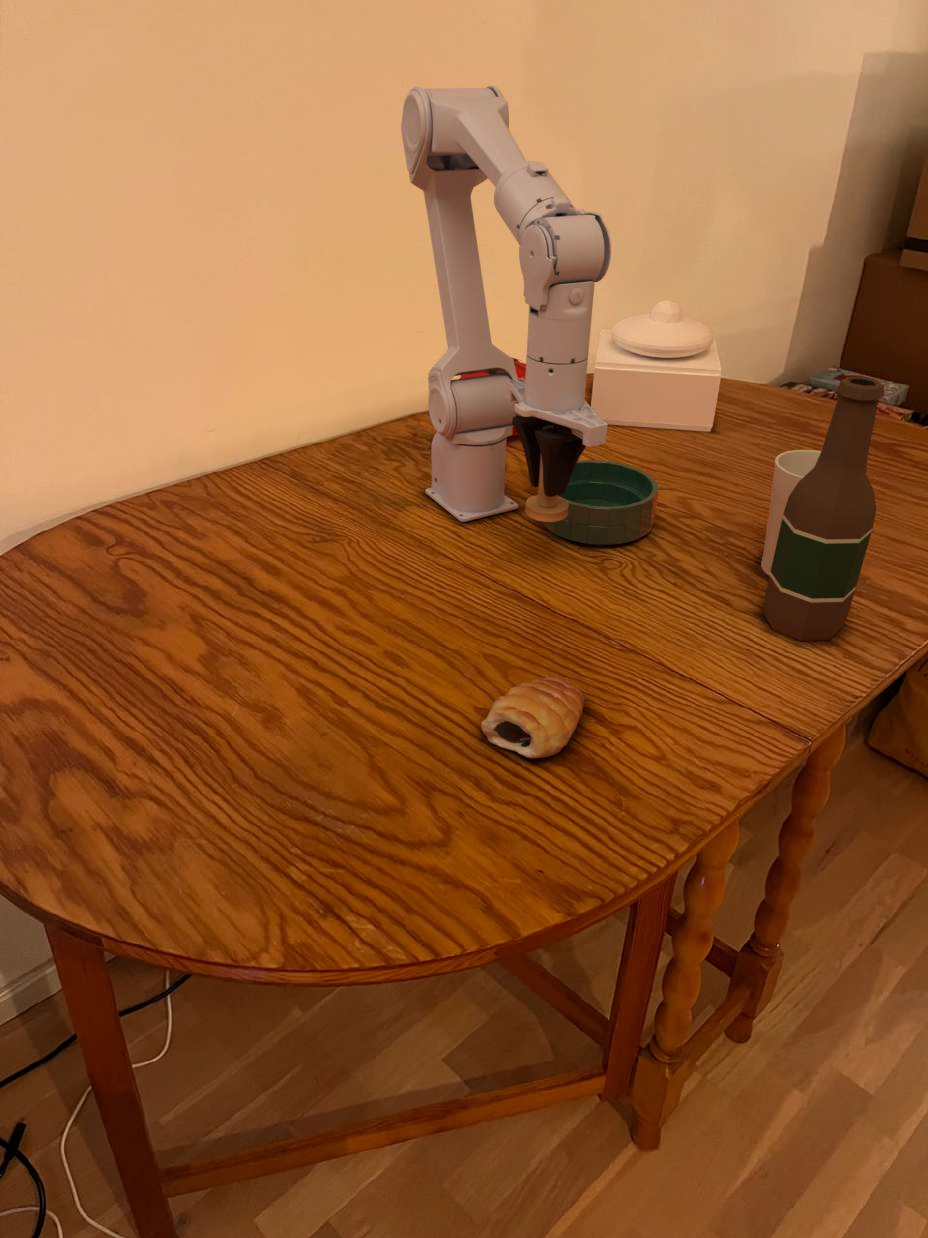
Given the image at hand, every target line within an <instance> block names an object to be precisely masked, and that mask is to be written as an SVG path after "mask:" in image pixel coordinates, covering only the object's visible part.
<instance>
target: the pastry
mask: <svg viewBox="0 0 928 1238" xmlns="http://www.w3.org/2000/svg"><path fill="white" fill-rule="evenodd" d="M584 703H585V696H584V693H583V691H582V689H581V688H580V686H577V685H576V684H574V683H573V682H570V681H568V680H567V678H565V677H564V676H552V675H551V676H546V677H542V678H537V677H536V678H533V679H532V680H531V681H523V682H521V683H520V684H519V685H517V686H512V687H510V688H509V690H508V692H507V693H506V694H505V695H501V696H498V697H497V698H495V700H493V702H492V705H491V707H490V710H489V713H488V715H487V716H486V718H485V719H484V720H482V721H481V723H480V729H481V731H482V733H483V735H485V736H486V739H487V741H488V742H489V743H490V744H493V745H495V746H497V747H500V748H501V749H504V750H507V751H512V752H516V753H517V754H519V755H521V756H523V757H525V758H528V759H540V758H541V759H544V758H549V757H552V756H554V755H556V754H559V753H560V752H561V751H562V750H563V749H564V747H566V746H567V745H568V743H569V741H570V739H571V738H572V735H574V732H575V731H576V729H577V726H578V723H579V721H580V719H581V716H582V714H583V710H584Z"/></svg>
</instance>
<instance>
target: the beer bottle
mask: <svg viewBox="0 0 928 1238" xmlns="http://www.w3.org/2000/svg"><path fill="white" fill-rule="evenodd" d="M884 386H885V385H884V384H882V382H880V381H878V379H874V378H871V377H866V376H863V375H862V376H860V375H859V376H847V377H845V378H843V379H841V380H840V382H839V384H838V386H837V388H836V389H835V391H836V393H837V394H838V397H837V400H836V403H835V407H834V410H833V413H832V415H831V419H830V422H829V426H828V429H827V433H826V436H825V439H824V442H823V445H822V449H821V450H820V451H821V454H820V456H819V458H818V460H817V462H816V465H815V467H814V468H813V469H812V470H811V471H810V472H809V473H808V474H806V475H805V476H804V477H803V478H802V479H801V480H800V481H799V482H798V483H797V485H796V486H795V488H794V489H793V491H792V492H791V494H790V495H789V497H788V501H787V504H786V507H785V510H784V513H783V517H782V522H781V526H780V531H779V535H778V540H777V544H776V549H775V553H774V558H773V562H772V567H771V571H770V576H769V575H768V580H767V585H766V589H765V590H766V591H765V594H764V600H763V607H762V613H763V616H764V618H765V619H766V621H767V623H768V624H769V626H770V627H771V629H772V631H774V632H777V633H778V634H782V635H784V636H787V637H789V638H792V639H794V640H797V641H800V642H819V641H820V642H823V641H825V642H826V641H830V640H831V639H832V638H833V637H834V636H835V635H836V634H837V633H839V631H840V630H841V629H842V628H844V626H845V623H846V621H847V618H848V615H849V613H850V609H851V606H852V602H853V599H854V596H855V592H856V588H857V585H858V583H859V579H860V578H859V577H860V574H861V572H862V568H863V564H864V560H865V557H866V553H867V551H868V550H867V549H868V546H869V543H870V539H871V536H872V532H873V528H874V525H875V519H876V513H877V503H876V495H875V491H874V487H873V486H872V484H871V481H870V480H869V477H868V475H867V473H868V472H867V471H868V456H869V452H870V446H871V442H872V436H873V432H874V427H875V421H876V417H877V411H878V406H879V401H880V399H882V398H884V397H885V387H884Z"/></svg>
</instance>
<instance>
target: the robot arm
mask: <svg viewBox="0 0 928 1238" xmlns="http://www.w3.org/2000/svg"><path fill="white" fill-rule="evenodd" d="M400 131H401V137H402V144H403V151H404V157H405V164H406V169H407V171H408V177H409V182H410V183H411V185H413V186H415V187H417V188H418V189H420V190H421V191H422V192H423V197H424V203H425V208H426V215H427V221H428V227H429V228H428V229H429V233H430V241H431V247H432V254H433V260H434V261H433V262H434V267H435V274H436V278H437V279H436V280H437V287H438V292H439V293H438V294H439V300H440V305H441V306H440V307H441V313H442V319H443V320H442V321H443V326H444V332H445V339H446V344H447V345H446V346H447V350H446V351H445V353H443V354H442V355H441V357H439V359H438V360H437V361H436V362H435V363H434V364H433V365H432V367H431V368H430V370H429V372H427V373H428V374H427V383H428V397H427V398H428V399H427V406H428V407H427V408H428V414H429V418H430V421H431V424H432V426H433V428H434V430H435V431H436V432H435V434H434V435H433V438H432V441H431V487H428V488H426V489H425V491H424V493H425V495H427V496H428V497H430V498H431V499H432V500H433V501H434V502H436V503H437V504H438V505H440V506H441V507H442V508H443V509H444V510H445V511H447V512H448V513H450V514H451V515H452V516H453V517H454V518H456V519H457V520H458V521H459V522H460V523H465V522H470V521H473V520H478V519H482V518H486V517H489V516H495V515H498V514H503V513H506V512H509V511H510V512H511V511H514V510H517V509H519V504H518V503H517V502H516V501H514V500H513V499H512V498H510V497H509V496H508V495H506V494H505V489H506V488H505V487H506V486H505V485H506V464H507V463H506V462H507V461H506V460H507V459H506V458H507V438H508V437H507V436H510V437H512V436H511V435H512V427H514V428H515V430H516V432H517V434H518V435H517V436H518V438H519V439H520V440H519V441H520V443H521V446H522V450H523V453H524V457H525V461H526V466H527V471H528V476H529V477H528V478H529V481H530V485H531V486H532V487H533V488H538V486H539V471H540V455H541V456H542V463H543V487H544V492H545V495H546V496H548V497H552V496H556V495H561V494H565V491H566V489H567V486H568V483H569V480H570V478H571V475H572V472H573V470H574V467H575V465H576V463H577V461H579V459H580V457H581V455H582V454H583V452H584V451H585V449H586V448H592V447H597V446H601V445H605V444H607V436H608V435H607V434H608V426H609V424H607V423H605V422H603V421H602V420H601V419H599V417H598V416H597V415H596V414H595V412H594V411H593V410H592V409H591V405H590V404H589V403H588V402H587V401H586V400H585V396H586V386H587V374H588V363H589V352H590V340H591V328H592V317H593V306H594V296H595V295H594V294H595V283H598V282H600V281H601V280H603V279H604V278H605V276H606V274H607V273H608V270H609V267H610V264H611V258H612V240H611V235H610V231H609V227H608V226H607V224H606V222H605V221H604V218H603V216H602V214H600V213H599V212H597V211H585V210H584V208H582V209H577V208H576V206H575V205H574V204H573V202H572V200H570V198H569V197H568V196H567V194H566V193H565V192H564V190H563V189H562V188H561V186H560V185H559V184H558V182H557V181H556V179H555V178H554V176H553V175H552V174H551V173H550V171H549V170H550V169H549V168H548V166H547V165H546V163H545V162H543V161H539V162H538V161H533V160H527V159H526V158H525V156H524V154H523V153H522V151H521V149H520V146H519V145H518V143H517V141H516V140H515V138H514V136H513V135H512V133H511V131H510V110H509V102H508V100H507V99H506V98H505V96H504V95H503V93H502V91H501V89H500V88H499V87H497V86H495V85H489V86H486V87H458V88H457V87H454V88H453V87H451V88H450V87H449V88H446V87H445V88H423V87H421V86H414V87H412V88H411V89H410V90H409V91H408V93H407V95H406V97H405V99H404V101H403V106H402V115H401V123H400ZM487 180H489V182H490V183H491V184H492V185H493V187H495V189H494V193H493V204H494V207H495V210H496V212H497V213H498V215H499V216H500V218H501V219H502V221H503V222H504V224H505V225H506V227H507V229H508V231H509V232H510V233H511V235H512V236H513V237H514V239H515V240H516V242H517V243H518V245H519V246H518V260H519V266H520V270H521V271H520V272H521V274H522V279H523V298H524V302H525V304H526V305H528V319H527V339H526V340H527V341H526V359H525V364H526V376H525V379H524V378H518V377H517V373H516V369H515V365H514V360H513V359H512V358H513V357H512V358H511V356H510V355H509V354H507V353H506V352H504V351H502V350H501V349H500V348H498V347H496V345H494V344H493V343H492V337H491V329H490V321H489V315H488V309H487V301H486V295H485V289H484V288H485V287H484V280H483V275H482V266H481V259H480V255H479V254H480V253H479V252H480V251H479V245H478V239H477V232H476V226H475V218H474V212H473V205H472V203H473V202H472V193H473V190H474V188H475V187H477V186H479V185H481V184H482V183H484V182H485V181H487ZM474 373H487V374H489V375H485V376H477V377H470V378H462V379H460V378H456V379H455V378H454V377H459V376H461V375H466V374H474ZM453 378H454V379H453ZM550 425H553V428H552V427H551V428H546V429H542V428H543V427H545V426H550Z"/></svg>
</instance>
